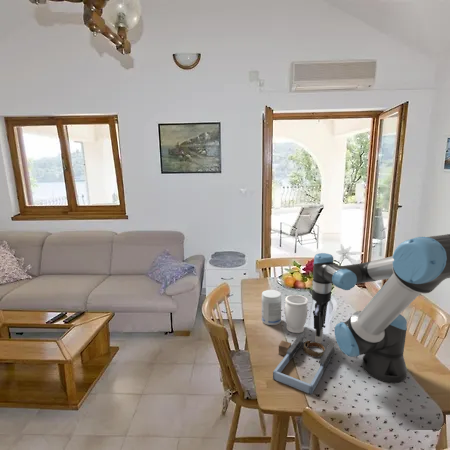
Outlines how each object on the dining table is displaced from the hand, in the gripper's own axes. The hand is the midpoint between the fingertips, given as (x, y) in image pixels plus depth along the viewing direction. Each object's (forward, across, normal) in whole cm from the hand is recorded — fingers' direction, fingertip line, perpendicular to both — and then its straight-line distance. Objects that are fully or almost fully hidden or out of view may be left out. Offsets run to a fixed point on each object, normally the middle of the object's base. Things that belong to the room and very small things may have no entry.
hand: (318, 341), depth 137 cm
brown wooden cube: (+2, +14, -10) cm, 17 cm away
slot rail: (+1, +10, 0) cm, 10 cm away
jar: (+2, -7, -13) cm, 15 cm away
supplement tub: (+2, -7, -26) cm, 27 cm away
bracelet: (+2, +6, 0) cm, 6 cm away
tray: (+1, +24, 0) cm, 24 cm away
